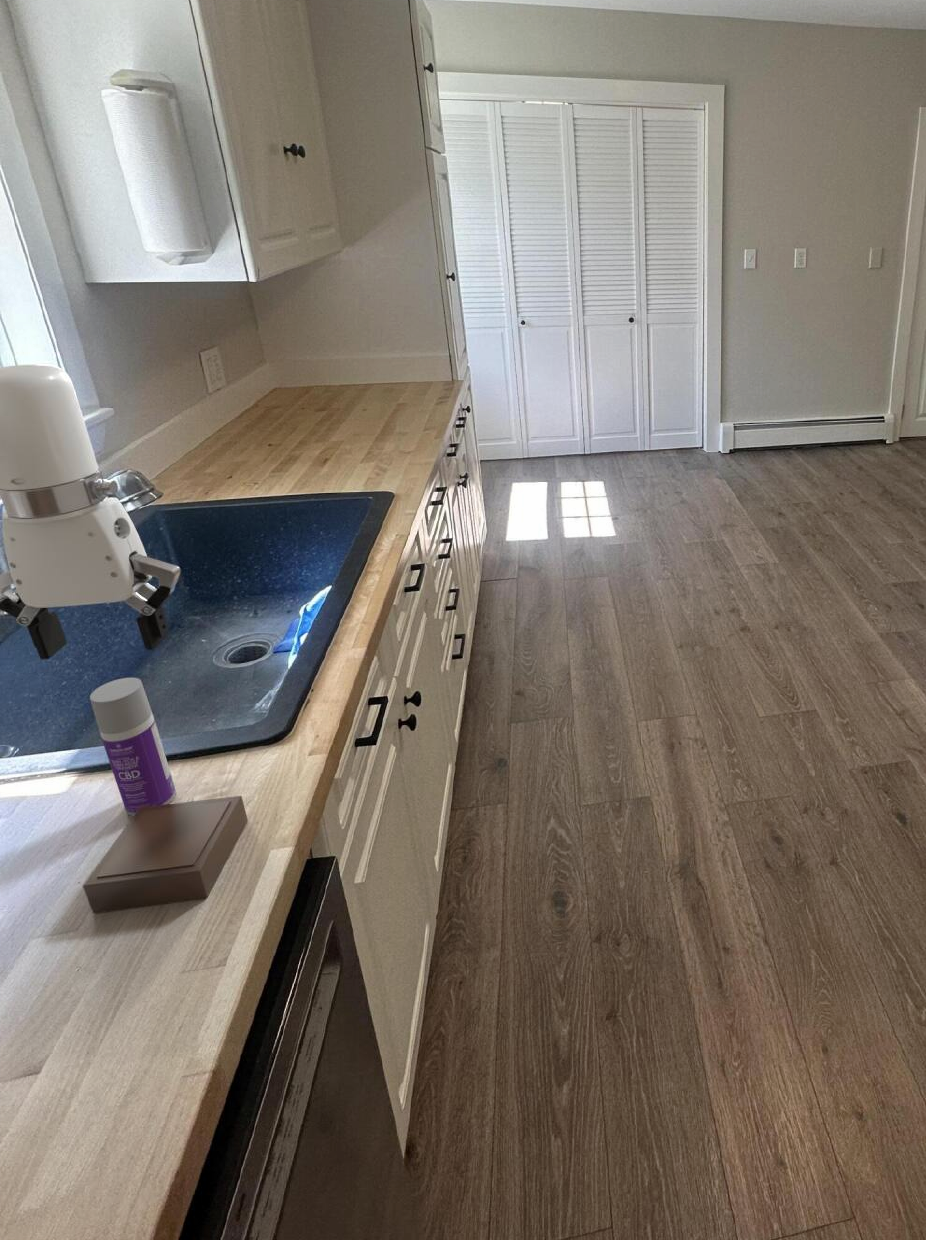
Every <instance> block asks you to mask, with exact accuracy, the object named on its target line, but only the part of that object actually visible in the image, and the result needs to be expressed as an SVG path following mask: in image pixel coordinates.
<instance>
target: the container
mask: <svg viewBox="0 0 926 1240" xmlns="http://www.w3.org/2000/svg"><path fill="white" fill-rule="evenodd" d="M89 700H90V703H91V707H92V710H93V714H94V717H95V721H96V724H97V727H98V731H99V734H100V739H101V741H102V744H103V747H104V751H105V753H106V756H107V759H108V762H109V765H110V769H111V771H112V774H113V777H114V779H115V782H116V786H117V788H118V791H119V795H120V797H121V800H122V804H123V806H124V809H125V812H126V814H128V815H129V816H132V817H133V816H134V815H135V813H136V812H137V810H138V809H139V808H140V807H148V806H156V805H165V804H171V802H172V801H173V800H174V799H175V797H176V794H177V790H176V788H175V783H174V780H173V777H172V773H171V770H170V767H169V763H168V759H167V757H166V753H165V749H164V747H163V743H162V739H161V735H160V733H159V730H158V726H157V723H156V720H155V717H154V714H153V712H152V708H151V704H150V702H149V700H148V697H147V694H146V691H145V689H144V684H143V682H142V680H141V679H140V678H137V677H122V678H119V679H115V680H112V681H109V682H107V683H104V684H102V685H100V686H99V687H97V688H96V689H95V690H94V691H92V692H91V694H90V695H89Z"/></svg>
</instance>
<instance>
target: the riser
mask: <svg viewBox="0 0 926 1240" xmlns="http://www.w3.org/2000/svg"><path fill="white" fill-rule="evenodd" d="M248 821H249V819H248V816H247V812H246V807H245V803H244V801H243V797H242V795H236V796H227V797H219V798H209V799H201V800H193V801H183V802H175V803H169V804H165V805H156V806H148V807H140V808H139V809H138V810H137V812H136V813H135V815H134V816H132V817H131V819H130V820H129V821H128V823H127V824H126V825H125V826H124V828H123V829H122V831H121V832H120V834H119V835H118V837H117V838H116V839H115V841H114V842H113V843H112V845H111V846H110V847H109V849H108V851H107V852H106V853H105V855H104V856H103V857H102V859H101V860H100V861H99V863H98V864H97V866H96V867H95V869H94V870H93V871H92V873H91V874H90V875H89V877H88V878H87V880H86V881H85V882H84V884H83V885H82V888H83V891H84V894H85V896H86V899H87V901H88V904H89V906H90V910H91V912H92V914H100V913H105V912H106V913H107V912H114V911H122V910H129V909H135V908H144V907H152V906H158V905H166V904H173V903H180V902H181V903H182V902H188V901H194V900H195V901H196V900H203V899H208V898H209V896H210V894H211V892H212V890H213V888H214V886H215V884H216V882H217V881H218V879H219V877H220V875H221V873H222V872H223V869H224V867H225V866H226V863H227V862H228V859H229V858H230V856H231V854H232V852H233V850H234V848H235V846H236V844H237V842H238V840H239V839H240V837H241V835H242V833H243V831H244V829H245V827H246V826H247V824H248Z"/></svg>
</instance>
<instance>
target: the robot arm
mask: <svg viewBox="0 0 926 1240" xmlns="http://www.w3.org/2000/svg"><path fill="white" fill-rule="evenodd" d="M118 490H119V486H118V482H117V481H116V480H114V479H111V480H110V479H109V480H107V479H104V475H103V472H102V471H100V468H99V465H98V462H97V459H96V455H95V451H94V449H93V445H92V442H91V438H90V436H89V431H88V428H87V425H86V421H85V419H84V415H83V412H82V409H81V406H80V402H79V399H78V396H77V393H76V390H75V386H74V384H73V380H72V379H71V377H70V375H69V373H67V371H66V370H63V368H61V367H58V366H56V365H51V364H19V365H18V364H17V365H8V366H2V367H1V366H0V498H1V501H2V504H3V507H4V510H5V512H6V513H5V514H3V516H2V518H1V519H2V521H1V527H2V540H3V547H4V552H5V555H6V562H7V566H8V568H9V570H6V571H4V572H3V573H1V574H0V610H1V611H2V612H4V613H6V614H8V615H10V616H11V617H14V618H16V622H17V624H18V625H19V626H22V627H27V630H28V633H29V635H30V639H31V640H32V644H33V646H34V648H35V649H36V651H37V653H38V656H39V659H40V660H49V659H51V658H52V657H53V656H54V655H56V654H57V653H58V652H59V651H60V650H61V649H63V648H64V647H65V646H66V645H67V643H68V641H67V638H66V636H65V635H66V634H65V632H64V629H63V626H62V624H61V620H60V618H59V615H58V613H57V612H56V610H54V609H53V610H49V609H50V608H62V607H72V606H73V607H75V606H86V605H87V606H88V605H98V604H100V605H101V604H111V603H118V602H123V603H125V604H126V605H128V606H129V607H131V608H132V609H134V610H136V611H137V612H138V613H140V614H139V615H138V616H137V617H136V624H137V627H138V629H139V633H140V636H141V640H142V642H143V643H142V644H143V645H144V648H145V650H147V651H152V650H155V649H157V647H159V645H160V644H161V643H162V642H163V641H164V640H165V639H166V638H167V636H168V634H169V632H170V631H169V630H170V628H169V624H168V620H167V617H166V614H165V611H164V607H163V604H164V603H165V602H166V601H167V599H168V598H170V596H171V595H172V594H173V592H174V591H175V590H176V589H177V586H176V585H177V583H178V581H179V577H180V574H181V571H182V569H181V568H180V566H178V565H176V564H173V563H169V562H165V561H162V560H160V559H156V558H153V557H149V556H148V554H147V553H146V549H145V547H144V544H143V542H142V539H141V538H140V535H139V533H138V531H137V529H136V527H135V524H134V522H133V521H132V519H131V517H130V515H129V514H128V512H127V511H126V508H125V507H124V505H123V503H121V501H120V499H118V497H109V495H113V494H116V493H118ZM152 578H156V579H157V580H158V584H157V585H158V586H157V588H155V586H153V585H151V584H150V583H148V582H150V581H151V580H152ZM11 585H14V587H15V590H16V592H15V591H14V589H13V588H12V587H11Z"/></svg>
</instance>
